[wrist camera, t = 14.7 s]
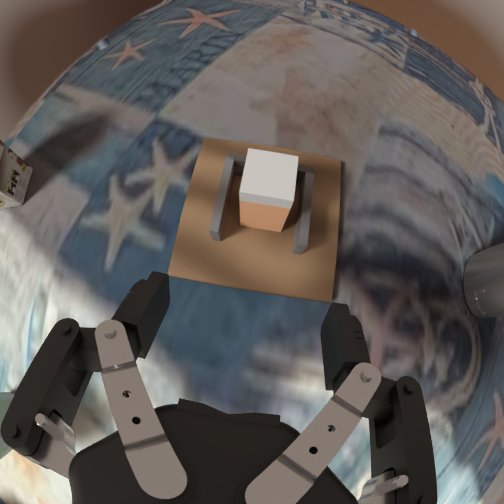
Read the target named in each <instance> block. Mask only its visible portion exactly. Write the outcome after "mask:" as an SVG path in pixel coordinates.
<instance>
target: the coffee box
mask: <svg viewBox="0 0 504 504" xmlns="http://www.w3.org/2000/svg"><path fill="white" fill-rule="evenodd" d="M32 171H33V169H32V168H31V167H30V166H29V165H28V164H27V163H25V162H24V161H23V160H22V159H21V158H20V157H19V156H18V155H16V154H15V153H14V152H13V151H12V150H11V149H10V148H8V147H7V146H6V145H5V144H4V143H3V142H2V141H1V140H0V210H2V209H6V208H10V207H14V206H19V205H23V202H24V198H25V194H26V191H27V187H28V184H29V180H30V177H31V174H32Z"/></svg>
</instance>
